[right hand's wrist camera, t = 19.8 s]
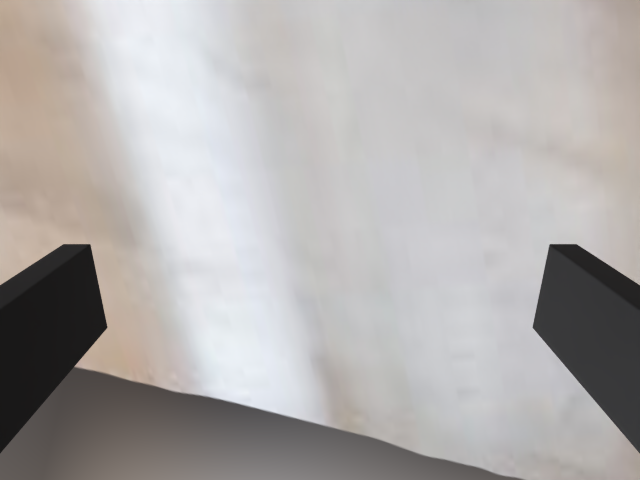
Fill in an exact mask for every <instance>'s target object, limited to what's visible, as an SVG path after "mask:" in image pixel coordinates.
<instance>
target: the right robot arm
mask: <svg viewBox="0 0 640 480" xmlns="http://www.w3.org/2000/svg"><path fill="white" fill-rule="evenodd" d="M106 329H107V323H106V319H105V314H104V309H103V304H102V299H101V294H100V289H99V284H98V280H97V275H96V270H95V265H94V260H93V255H92V250H91V245H90V244H63V245H62V246H60V247H59V248H57V249H56V250H54V251H52V252H51V253H49V254H48V255H46V256H45V257H43V258H42V259H40V260H39V261H37V262H36V263H34V264H32V265H31V266H29V267H28V268H26V269H25V270H23V271H22V272H20V273H19V274H17V275H15V276H14V277H12V278H11V279H9V280H8V281H6V282H5V283H3V284H2V285H0V453H1V452H2V450H3V449H4V448H5V447H6V446H7V445H8V444H9V442H10V441H11V440H12V439H13V438H14V436H15V435H16V434H17V433H18V432H19V431H20V429H21V428H22V427H23V426H24V425H25V424H26V422H27V421H28V420H29V419H30V418H31V416H32V415H33V414H34V413H35V412H36V411H37V410H38V408H39V407H40V406H41V405H42V404H43V402H44V401H45V400H46V399H47V398H48V397H49V395H50V394H51V393H52V392H53V391H54V390H55V388H56V387H57V386H58V385H59V384H60V383H61V381H62V380H63V379H64V378H65V377H66V375H67V374H68V373H69V372H70V371H71V370H72V368H73V367H74V366H75V365H76V364H77V363H78V361H79V360H80V359H81V358H82V357H83V356H84V354H85V353H86V352H87V351H88V350H89V348H90V347H91V346H92V345H93V344H94V343H95V341H96V340H97V339H98V338H99V337H100V336H101V334H102V333H103V332H104V331H105V330H106ZM533 329H534V330H535V331H536V332H537V333H538V334H539V336H540V337H541V338H542V339H543V340H544V341H545V343H546V344H547V345H548V346H549V347H550V349H551V350H552V351H553V352H554V353H555V354H556V356H557V357H558V358H559V359H560V360H561V361H562V363H563V364H564V365H565V366H566V367H567V368H568V370H569V371H570V372H571V373H572V374H573V375H574V377H575V378H576V379H577V380H578V381H579V383H580V384H581V385H582V386H583V387H584V388H585V390H586V391H587V392H588V393H589V394H590V395H591V397H592V398H593V399H594V400H595V401H596V402H597V404H598V405H599V406H600V407H601V408H602V410H603V411H604V412H605V413H606V414H607V415H608V417H609V418H610V419H611V420H612V421H613V422H614V424H615V425H616V426H617V427H618V428H619V429H620V431H621V432H622V433H623V434H624V435H625V436H626V438H627V439H628V440H629V441H630V442H631V444H632V445H633V446H634V447H635V448H636V449H637V451H638V452H639V453H640V285H638V284H637V283H635V282H634V281H632V280H631V279H629V278H628V277H626V276H625V275H623V274H621V273H620V272H618V271H617V270H615V269H614V268H612V267H611V266H609V265H608V264H606V263H604V262H603V261H601V260H600V259H598V258H597V257H595V256H594V255H592V254H591V253H589V252H588V251H586V250H584V249H583V248H581V247H580V246H578V245H577V244H550V245H549V250H548V255H547V260H546V265H545V270H544V275H543V280H542V284H541V289H540V294H539V299H538V304H537V309H536V314H535V319H534V323H533Z"/></svg>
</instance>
